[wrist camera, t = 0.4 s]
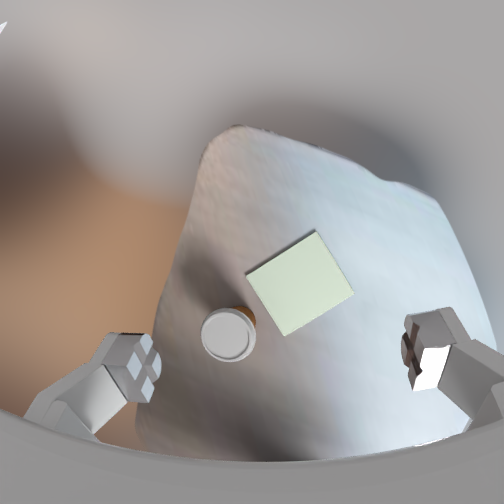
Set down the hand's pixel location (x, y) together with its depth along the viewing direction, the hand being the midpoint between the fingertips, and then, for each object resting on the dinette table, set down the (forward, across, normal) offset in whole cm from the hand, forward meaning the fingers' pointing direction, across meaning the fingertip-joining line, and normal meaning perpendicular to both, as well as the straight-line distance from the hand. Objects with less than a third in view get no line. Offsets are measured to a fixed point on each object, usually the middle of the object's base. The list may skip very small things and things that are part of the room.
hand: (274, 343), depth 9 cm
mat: (+44, 0, -27) cm, 52 cm away
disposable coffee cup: (+42, -13, -33) cm, 55 cm away
